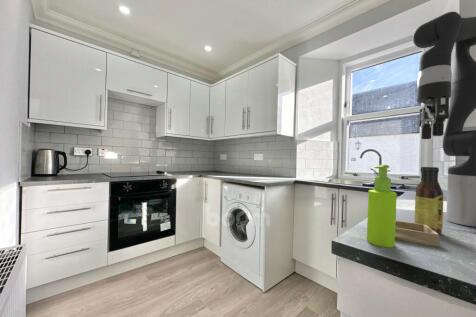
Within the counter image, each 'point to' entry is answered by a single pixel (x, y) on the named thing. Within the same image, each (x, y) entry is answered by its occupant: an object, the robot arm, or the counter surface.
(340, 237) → the counter surface
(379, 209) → the soap dispenser
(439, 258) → the counter surface
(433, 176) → the sauce bottle
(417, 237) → the wooden stand
